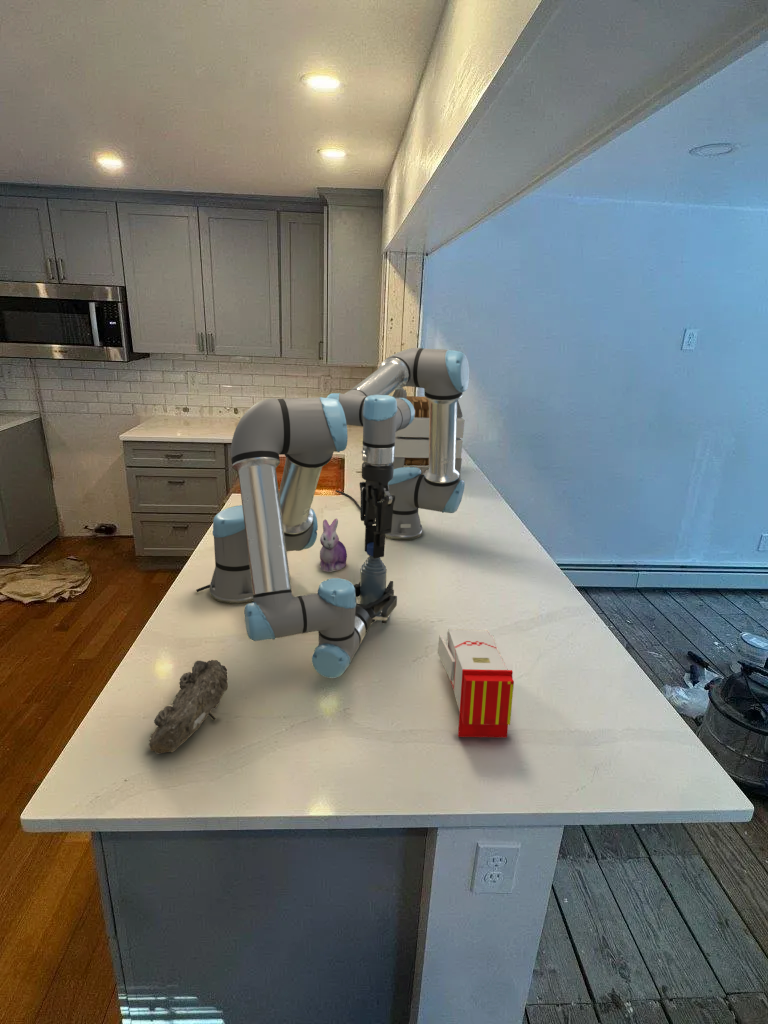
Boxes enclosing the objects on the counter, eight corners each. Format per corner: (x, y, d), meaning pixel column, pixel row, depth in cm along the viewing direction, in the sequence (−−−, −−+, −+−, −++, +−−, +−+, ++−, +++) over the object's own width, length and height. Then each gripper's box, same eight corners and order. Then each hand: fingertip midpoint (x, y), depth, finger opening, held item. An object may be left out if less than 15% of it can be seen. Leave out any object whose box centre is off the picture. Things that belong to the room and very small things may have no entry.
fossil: (177, 661, 117) (228, 629, 112) (210, 691, 120) (261, 661, 115) (124, 747, 97) (183, 713, 92) (164, 781, 100) (223, 749, 95)
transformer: (382, 463, 289) (386, 382, 275) (445, 464, 293) (451, 384, 279) (390, 482, 257) (394, 392, 243) (460, 483, 261) (468, 394, 247)
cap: (372, 548, 144) (373, 540, 143) (385, 552, 142) (385, 544, 141) (363, 553, 141) (363, 545, 140) (375, 557, 139) (376, 549, 138)
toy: (488, 613, 130) (523, 677, 101) (484, 667, 133) (517, 744, 104) (435, 612, 130) (455, 676, 101) (432, 666, 133) (451, 743, 103)
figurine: (324, 575, 166) (325, 528, 161) (312, 561, 175) (312, 516, 170) (353, 570, 170) (355, 523, 165) (340, 557, 179) (341, 512, 174)
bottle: (376, 623, 143) (379, 554, 136) (354, 615, 146) (356, 548, 139) (389, 612, 148) (392, 545, 142) (367, 605, 151) (369, 539, 145)
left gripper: (310, 634, 132) (342, 590, 153) (391, 649, 127) (413, 602, 148) (310, 605, 129) (342, 565, 150) (393, 620, 125) (415, 576, 146)
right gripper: (347, 455, 138) (345, 544, 146) (381, 473, 125) (377, 569, 133) (374, 453, 142) (371, 539, 150) (410, 470, 128) (404, 564, 136)
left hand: (377, 583), depth 149 cm, fingers closed on bottle, 7 cm apart
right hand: (374, 553), depth 141 cm, fingers closed on cap, 4 cm apart
